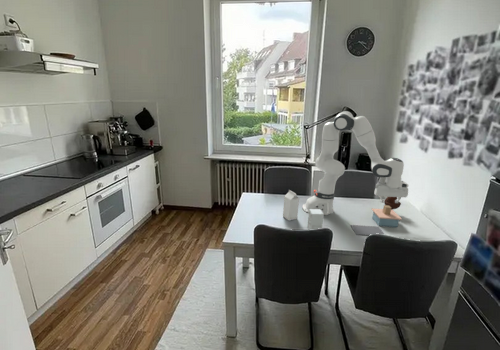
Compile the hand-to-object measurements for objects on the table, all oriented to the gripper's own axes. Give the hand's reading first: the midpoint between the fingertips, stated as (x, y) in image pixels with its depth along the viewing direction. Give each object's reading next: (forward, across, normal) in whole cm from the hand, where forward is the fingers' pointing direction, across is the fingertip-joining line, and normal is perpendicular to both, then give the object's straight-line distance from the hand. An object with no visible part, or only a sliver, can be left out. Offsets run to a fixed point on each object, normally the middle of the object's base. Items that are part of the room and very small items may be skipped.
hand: (389, 202), depth 184 cm
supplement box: (+14, -51, -17) cm, 55 cm away
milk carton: (+13, -65, -2) cm, 66 cm away
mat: (+14, -17, -14) cm, 26 cm away
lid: (+9, -1, 0) cm, 9 cm away
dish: (+15, -1, 0) cm, 15 cm away
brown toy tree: (+15, +9, +15) cm, 23 cm away
